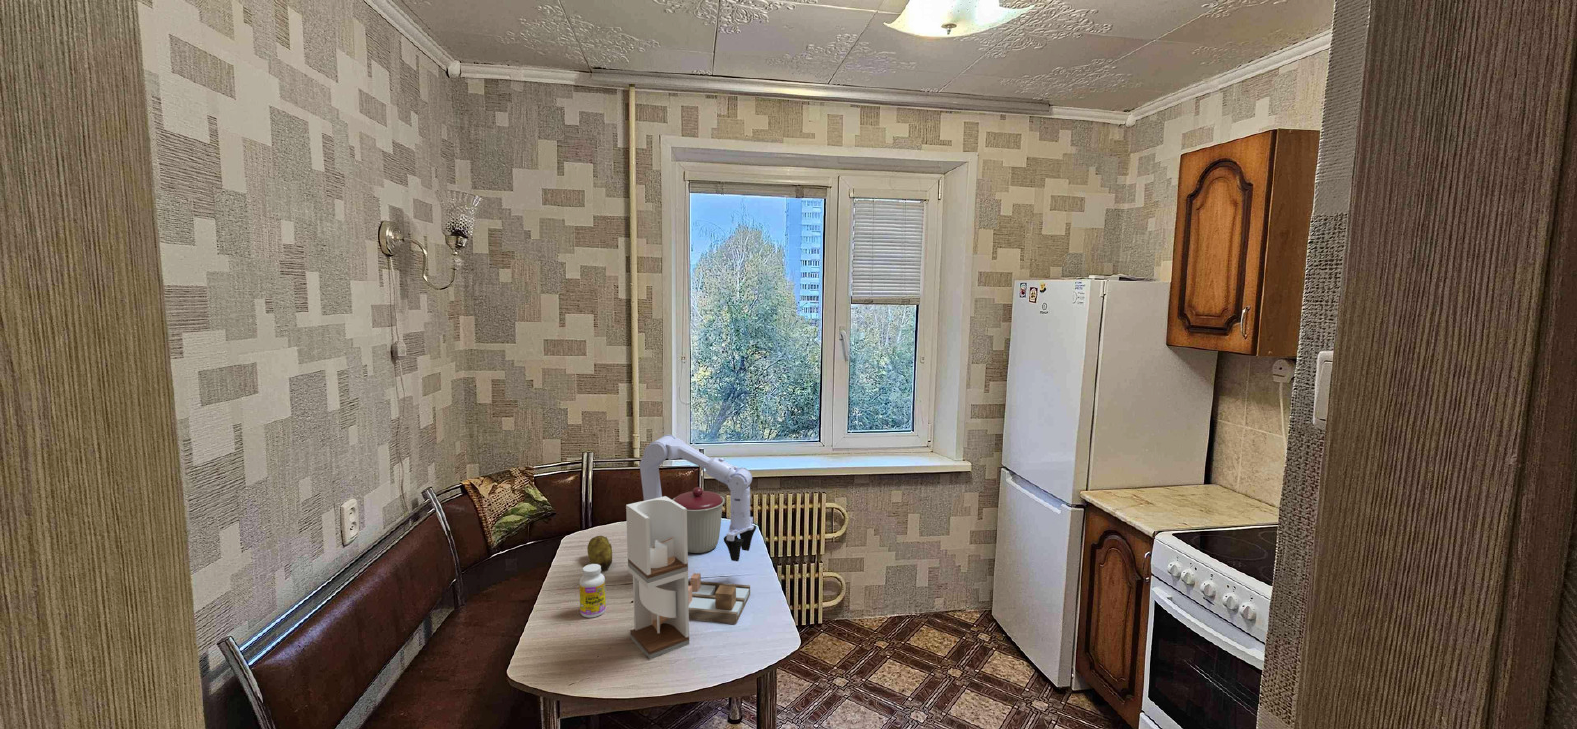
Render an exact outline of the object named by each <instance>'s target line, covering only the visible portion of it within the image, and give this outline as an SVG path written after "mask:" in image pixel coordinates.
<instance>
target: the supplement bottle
mask: <svg viewBox="0 0 1577 729" xmlns="http://www.w3.org/2000/svg"><path fill="white" fill-rule="evenodd" d="M601 572H602V570H601V566H600V565H598V564H591V563H589V564H587V565H585V566H584V567H582V576H581V577H580V578H579V580H578V582H579V584H578V585H579V611H580V615H581V616H582V617H584V618H597V617H600V616H601V615H603V614H604V613H605V611H606V609H607V608H606V604H607V603H606V602H607V601H606V578H605V576H604V574H603V573H601Z"/></svg>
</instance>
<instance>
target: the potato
mask: <svg viewBox="0 0 1577 729" xmlns="http://www.w3.org/2000/svg"><path fill="white" fill-rule="evenodd" d="M612 548H613V546H612V544H611V543H610V540H609V539H608V537H606V536H603V535H596V536H594V537H592V538H591V539H590V540H589V542H588V544H587V551H586V552H587V555H588V558H589V564H598V565H600V566H601V571H602V570H603V571H604V570H607V569H609V568H610V567H611V565H612V563H613V550H612Z"/></svg>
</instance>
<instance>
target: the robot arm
mask: <svg viewBox="0 0 1577 729" xmlns="http://www.w3.org/2000/svg"><path fill="white" fill-rule="evenodd" d="M666 459H668V461H672V460H677V459H683V460H685V461H687V462H689V463H691V464H694V465H696V466H697V467H700V468H703V469H704V470H705V472H706V474H707V476H709V477H711V478H713V479H715V480H717V481H718V482H720V483H723V484H725V485H727V487H728V489H729V491H730V497H729V498H730V500H729V501H730V502H729V503H730V524H729V529H728V532H727V533H726V535H725V536H724V537H723V542H724V543H725V545H726V547H727V550H728V552H729V557H730V559H731V561H732V562H739V561H740V556H741V550H742V551H747V552H749V551H750V548H751V546H752V545H751V544H752V540H753V536H754V533H755V532H756V530H757V526H756V525H753V524H754V516H751V484H752V481H753V475H752V472H751V471H750V470H749V469H747V468H746V467H744V466H743V467H739V466H737V465H733V464H731V463H730V462H729V463H728V461H725V458H723V457H713V458H711V457H709V456H707V455H705V454H704V453H702V452H701V451H699V450H698V449H696V448H694V447H692V446H690V445H689V444H688V443H686V442H684V441H683V439H681V438H679V437H676V436H675V435H672V434H665V435H663V436H661V437H660V438H658V439H656V440H653V441H652V442H650V443H649V444H648V445H647V446H646V447H645V448H644V452H643V455H642V457H641V459H640V462H639V470H640V472H639V473H640V480H641V486H642V487H641V488H642V496H643V501H646V500H650V499H655V498H659V497H663V494H662V485H661V478H660V470H659V469H660V467H661V465H662V464H663V463H664V462H665V461H666ZM738 535H739V537H738Z"/></svg>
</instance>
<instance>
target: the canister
mask: <svg viewBox="0 0 1577 729" xmlns="http://www.w3.org/2000/svg"><path fill="white" fill-rule="evenodd" d="M672 500H673V501H675V502H676V503H678V504H680V505H681V506H683V507H685V508H686V509H687V548H688V553H690V554H703V553H706V552H707V553H708V552H710V551H712V550H713V549H715V548H716V547H717V546H718V543H719V540H720V535H721V534H720V532H721V526H722V525H721V524H722V516H723V514H722V513H723V505H724V504H725V502H726V500H725V497H723V496H722V495H720V494H719V493H716V492H714V491H709V490H704V489H703V488H702V487H700V486H698V487H694V488H693V489H692V491H687V492H683V493H680V494H679V495H677V496H675V497H674V498H673V499H672Z"/></svg>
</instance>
